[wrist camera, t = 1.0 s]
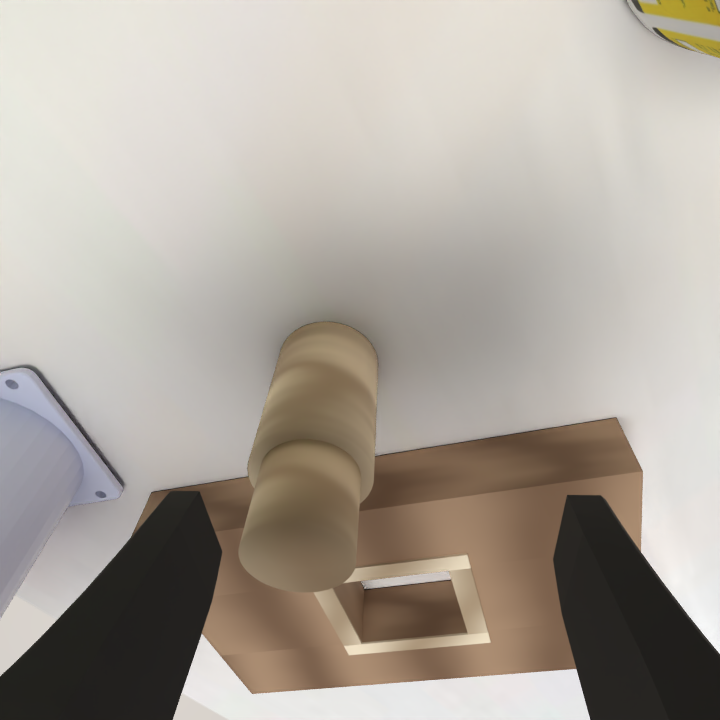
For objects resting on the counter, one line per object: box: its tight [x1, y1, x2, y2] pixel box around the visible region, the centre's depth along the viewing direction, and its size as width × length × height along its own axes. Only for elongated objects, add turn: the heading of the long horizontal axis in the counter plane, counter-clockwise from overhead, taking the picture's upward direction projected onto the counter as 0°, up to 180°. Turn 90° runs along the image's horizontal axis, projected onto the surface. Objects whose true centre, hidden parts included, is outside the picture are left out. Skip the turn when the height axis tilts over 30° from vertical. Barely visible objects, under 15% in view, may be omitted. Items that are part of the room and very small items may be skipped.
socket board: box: [131, 418, 643, 694], centre depth 28 cm, size 22×15×3 cm
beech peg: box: [238, 322, 378, 593], centre depth 19 cm, size 4×4×9 cm
